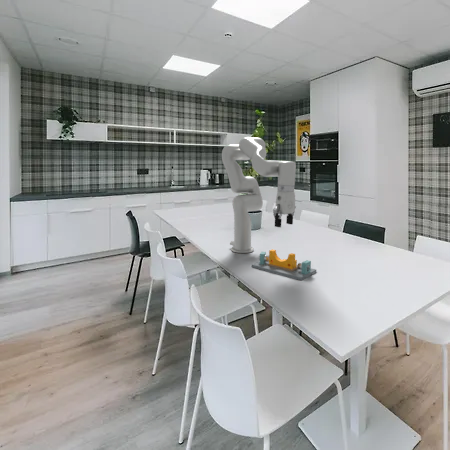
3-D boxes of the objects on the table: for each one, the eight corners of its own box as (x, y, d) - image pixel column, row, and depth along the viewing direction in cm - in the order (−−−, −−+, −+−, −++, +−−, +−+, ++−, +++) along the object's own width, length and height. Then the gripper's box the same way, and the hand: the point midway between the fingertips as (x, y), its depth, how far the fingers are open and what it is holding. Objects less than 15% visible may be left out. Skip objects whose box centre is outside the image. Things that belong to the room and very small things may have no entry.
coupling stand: (251, 267, 146) (251, 254, 145) (268, 260, 156) (268, 248, 155) (300, 280, 129) (301, 266, 127) (316, 272, 139) (317, 258, 138)
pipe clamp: (296, 266, 140) (297, 253, 139) (291, 269, 137) (292, 255, 135) (273, 261, 147) (274, 248, 146) (268, 263, 144) (269, 250, 143)
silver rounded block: (297, 270, 135) (297, 263, 135) (300, 268, 138) (300, 261, 137) (306, 272, 132) (306, 265, 132) (309, 270, 135) (310, 264, 134)
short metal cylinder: (259, 261, 147) (259, 255, 147) (260, 260, 150) (260, 254, 149) (268, 262, 146) (268, 256, 145) (269, 260, 149) (269, 254, 148)
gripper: (282, 190, 132) (280, 229, 135) (302, 188, 144) (300, 224, 147) (267, 189, 137) (266, 226, 140) (289, 187, 149) (287, 221, 153)
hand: (283, 225), depth 144 cm, fingers open, 9 cm apart
